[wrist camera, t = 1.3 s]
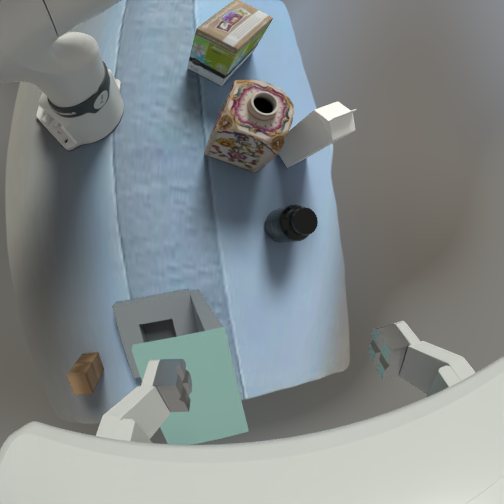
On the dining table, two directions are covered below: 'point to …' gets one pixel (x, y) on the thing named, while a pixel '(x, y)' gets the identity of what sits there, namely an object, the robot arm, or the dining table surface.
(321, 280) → the dining table surface
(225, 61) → the tea box
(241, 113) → the decorative jar
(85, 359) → the walnut peg
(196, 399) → the socket stand
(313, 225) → the supplement bottle
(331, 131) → the milk
